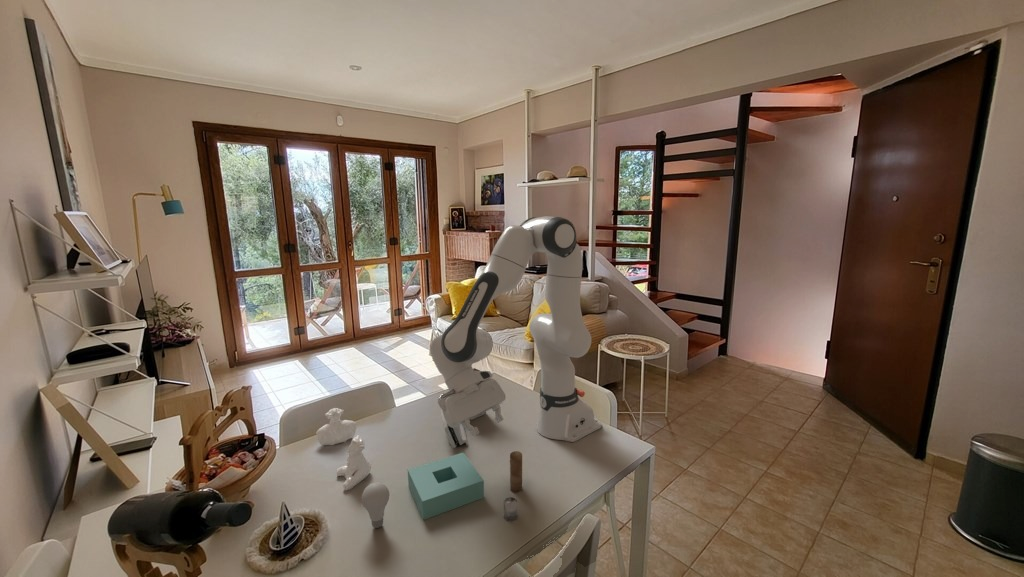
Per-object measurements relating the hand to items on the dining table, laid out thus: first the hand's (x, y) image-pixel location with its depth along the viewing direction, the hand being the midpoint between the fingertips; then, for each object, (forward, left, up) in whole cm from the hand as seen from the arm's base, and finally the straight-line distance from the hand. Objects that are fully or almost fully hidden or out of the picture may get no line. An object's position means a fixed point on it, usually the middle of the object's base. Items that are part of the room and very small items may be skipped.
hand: (488, 428), depth 112 cm
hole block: (+14, +1, -14) cm, 19 cm away
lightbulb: (+32, +5, -14) cm, 35 cm away
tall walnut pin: (-3, +9, -14) cm, 17 cm away
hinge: (+2, -25, -14) cm, 29 cm away
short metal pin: (+3, +17, -14) cm, 22 cm away
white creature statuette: (+34, -17, -14) cm, 40 cm away
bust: (+36, -40, -14) cm, 56 cm away
